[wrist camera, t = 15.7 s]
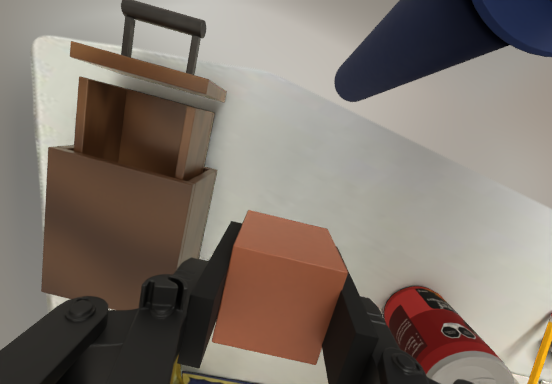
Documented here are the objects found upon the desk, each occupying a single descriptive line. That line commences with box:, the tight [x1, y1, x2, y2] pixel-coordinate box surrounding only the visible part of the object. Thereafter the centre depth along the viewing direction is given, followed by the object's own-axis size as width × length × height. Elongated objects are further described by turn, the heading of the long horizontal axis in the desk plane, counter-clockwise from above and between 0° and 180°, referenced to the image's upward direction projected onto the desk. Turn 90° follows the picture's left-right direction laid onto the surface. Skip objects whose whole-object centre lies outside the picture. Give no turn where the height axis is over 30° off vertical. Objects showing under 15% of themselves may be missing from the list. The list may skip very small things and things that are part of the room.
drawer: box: [70, 0, 227, 181], centre depth 25 cm, size 18×11×7 cm, turn 165°
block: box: [212, 210, 348, 365], centre depth 13 cm, size 5×5×5 cm
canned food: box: [384, 286, 514, 384], centre depth 29 cm, size 8×8×11 cm
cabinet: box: [41, 145, 217, 310], centre depth 28 cm, size 15×13×9 cm
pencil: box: [527, 313, 552, 384], centre depth 32 cm, size 1×13×1 cm, turn 147°
